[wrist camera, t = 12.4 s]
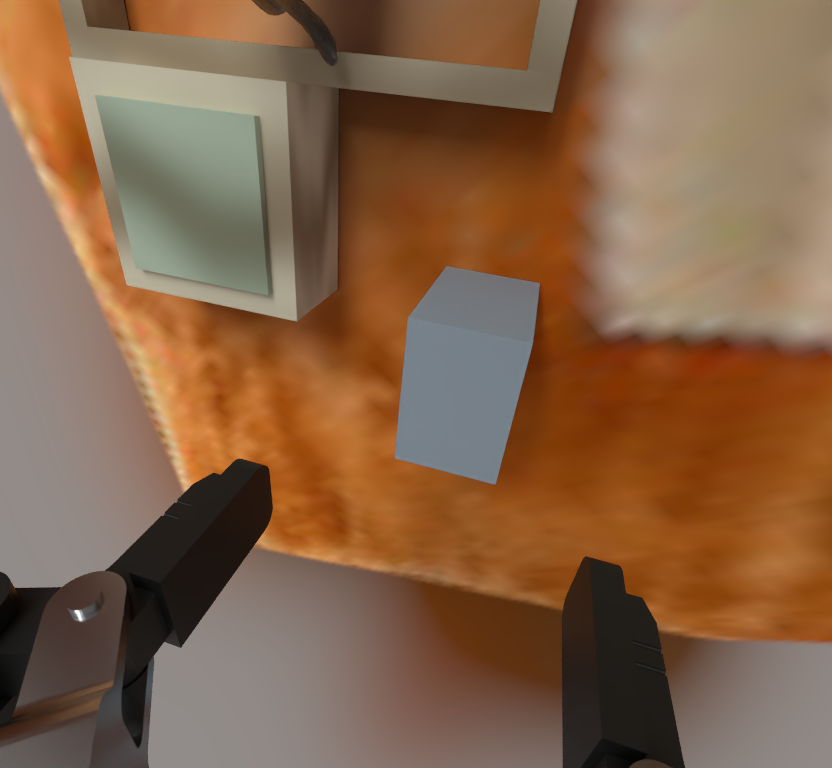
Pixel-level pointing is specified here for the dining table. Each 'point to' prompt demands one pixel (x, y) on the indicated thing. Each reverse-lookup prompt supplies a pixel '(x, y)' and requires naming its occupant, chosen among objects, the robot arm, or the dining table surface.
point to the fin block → (465, 371)
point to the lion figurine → (305, 24)
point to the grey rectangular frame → (250, 148)
